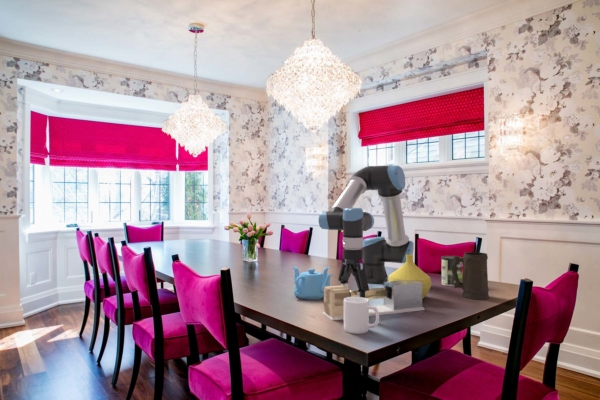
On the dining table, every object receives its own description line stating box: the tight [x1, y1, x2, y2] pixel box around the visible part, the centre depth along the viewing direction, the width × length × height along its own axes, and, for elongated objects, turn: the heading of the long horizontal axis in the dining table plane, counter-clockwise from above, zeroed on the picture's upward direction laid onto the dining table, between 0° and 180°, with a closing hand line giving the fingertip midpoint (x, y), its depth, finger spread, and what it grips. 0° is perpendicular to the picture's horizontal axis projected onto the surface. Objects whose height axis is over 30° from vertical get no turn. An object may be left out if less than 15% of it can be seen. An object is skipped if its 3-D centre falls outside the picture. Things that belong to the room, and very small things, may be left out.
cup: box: [343, 297, 380, 335], centre depth 131 cm, size 8×12×10 cm
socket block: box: [323, 284, 350, 317], centre depth 148 cm, size 7×7×10 cm
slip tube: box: [349, 287, 387, 301], centre depth 152 cm, size 20×4×4 cm, turn 110°
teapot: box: [292, 265, 334, 301], centre depth 179 cm, size 17×19×12 cm
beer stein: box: [452, 251, 490, 301], centre depth 178 cm, size 15×11×20 cm
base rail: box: [321, 304, 425, 321], centre depth 154 cm, size 9×40×1 cm, turn 110°
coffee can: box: [441, 255, 463, 287], centre depth 204 cm, size 10×10×14 cm
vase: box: [387, 255, 432, 300], centre depth 175 cm, size 18×18×19 cm
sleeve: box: [383, 280, 423, 311], centre depth 158 cm, size 7×13×10 cm, turn 110°
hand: (352, 304), depth 150 cm, fingers open, 13 cm apart
